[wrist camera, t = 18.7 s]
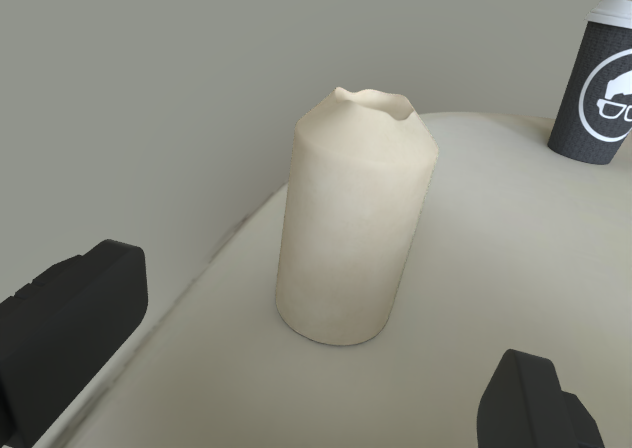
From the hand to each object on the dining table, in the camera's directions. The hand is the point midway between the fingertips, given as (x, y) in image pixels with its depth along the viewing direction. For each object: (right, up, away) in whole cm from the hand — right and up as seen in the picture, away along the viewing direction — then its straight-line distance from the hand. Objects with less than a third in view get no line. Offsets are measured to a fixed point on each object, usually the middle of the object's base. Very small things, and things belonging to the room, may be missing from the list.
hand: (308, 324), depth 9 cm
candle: (+1, -2, +11) cm, 12 cm away
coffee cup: (+30, +10, +39) cm, 50 cm away
